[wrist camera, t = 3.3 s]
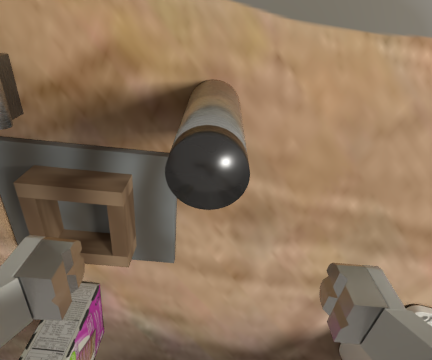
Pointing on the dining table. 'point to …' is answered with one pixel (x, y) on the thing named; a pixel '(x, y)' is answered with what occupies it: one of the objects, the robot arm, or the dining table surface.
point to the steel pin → (209, 149)
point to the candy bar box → (70, 329)
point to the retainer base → (8, 94)
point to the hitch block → (90, 199)
